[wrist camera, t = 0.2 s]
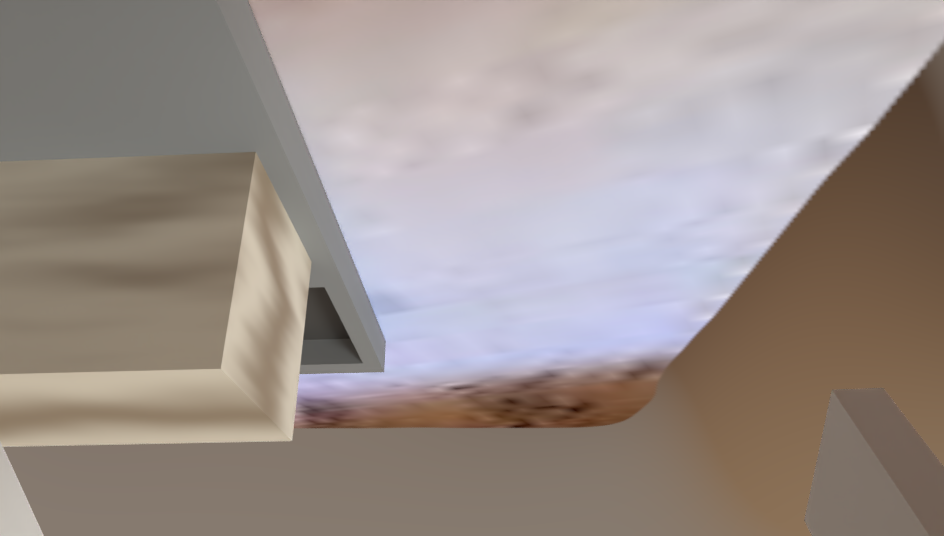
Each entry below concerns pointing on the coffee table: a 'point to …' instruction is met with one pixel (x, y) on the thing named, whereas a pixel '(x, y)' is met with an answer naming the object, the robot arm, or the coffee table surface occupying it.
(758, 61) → the coffee table surface
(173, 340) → the block
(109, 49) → the box
